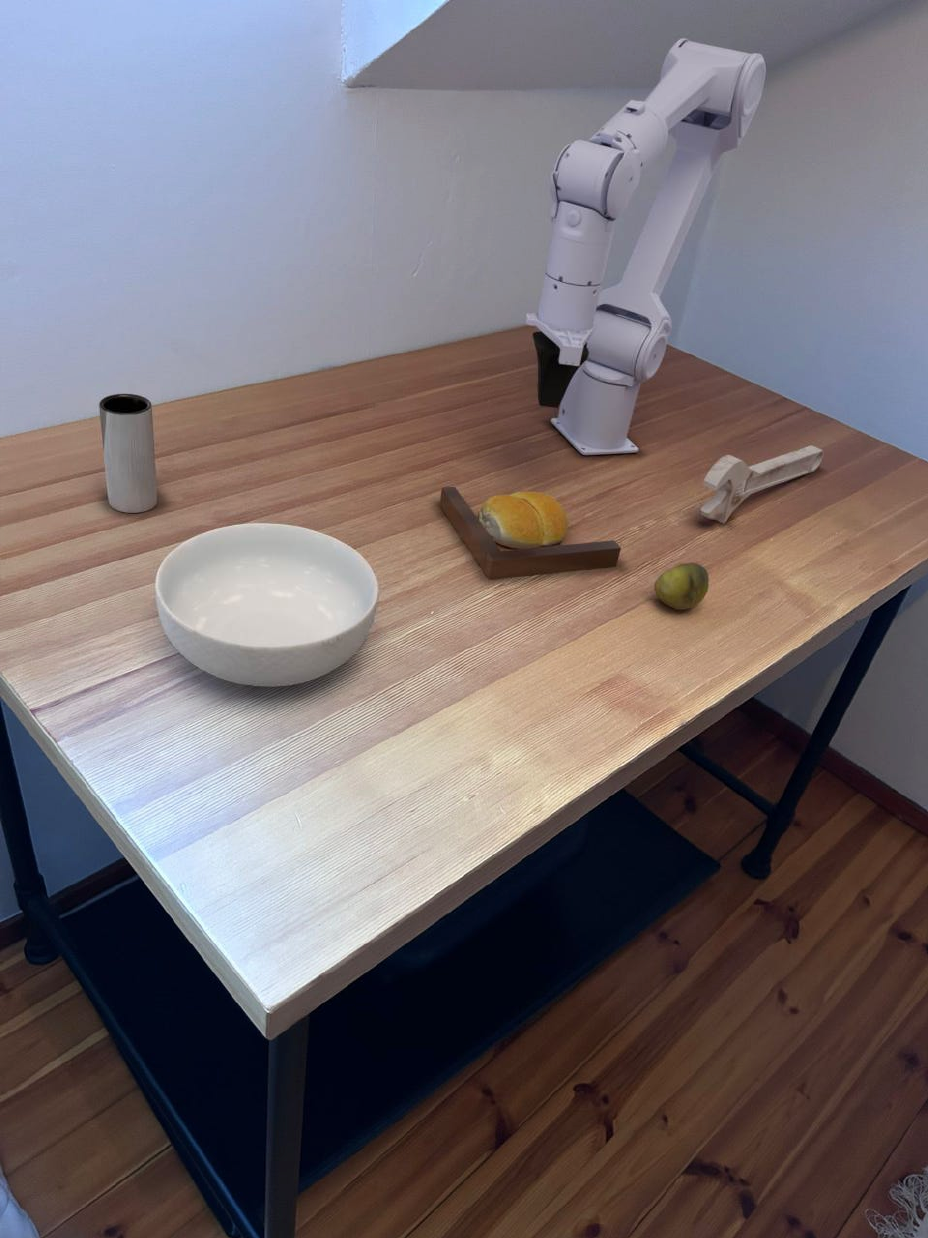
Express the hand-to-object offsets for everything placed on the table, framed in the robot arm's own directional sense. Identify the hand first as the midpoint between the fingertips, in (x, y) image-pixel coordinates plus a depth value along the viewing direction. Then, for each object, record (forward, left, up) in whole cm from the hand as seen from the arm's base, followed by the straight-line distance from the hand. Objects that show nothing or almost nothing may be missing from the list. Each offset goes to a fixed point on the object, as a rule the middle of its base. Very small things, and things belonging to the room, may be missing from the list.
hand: (548, 404), depth 102 cm
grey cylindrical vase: (-1, -43, -10) cm, 44 cm away
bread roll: (+10, -6, -10) cm, 15 cm away
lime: (+25, +4, -10) cm, 27 cm away
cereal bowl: (+24, -35, -10) cm, 44 cm away
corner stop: (+11, -6, -9) cm, 15 cm away
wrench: (+7, +27, -10) cm, 29 cm away
